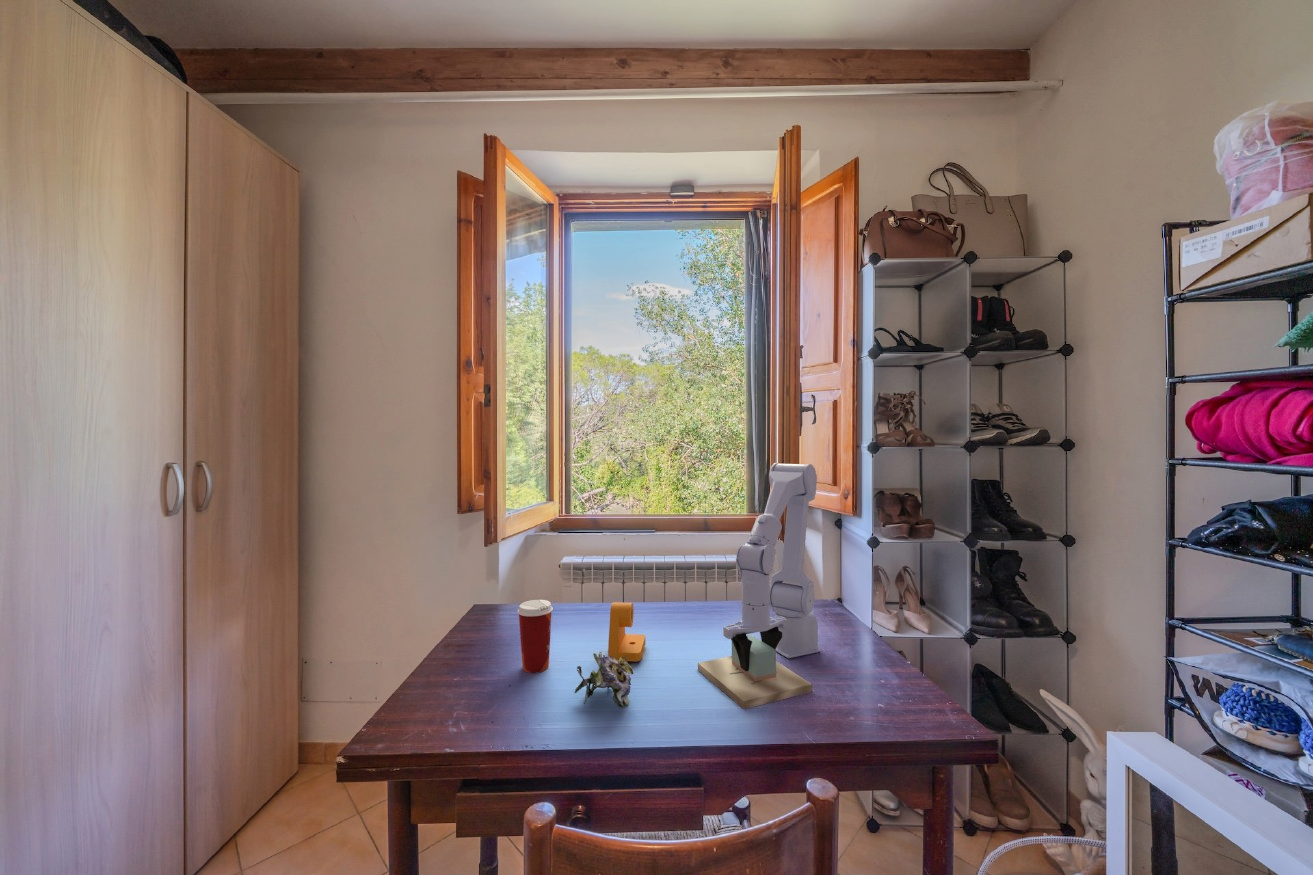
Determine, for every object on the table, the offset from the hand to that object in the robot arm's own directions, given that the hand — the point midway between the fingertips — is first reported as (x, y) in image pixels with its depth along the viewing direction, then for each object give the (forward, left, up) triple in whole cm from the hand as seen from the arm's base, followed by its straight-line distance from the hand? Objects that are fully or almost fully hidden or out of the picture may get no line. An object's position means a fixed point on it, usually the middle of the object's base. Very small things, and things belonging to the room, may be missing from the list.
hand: (756, 666), depth 110 cm
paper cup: (+41, -25, -3) cm, 48 cm away
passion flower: (+32, -4, -3) cm, 32 cm away
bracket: (+20, -23, -3) cm, 31 cm away
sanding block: (0, -1, -1) cm, 1 cm away
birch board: (+1, 0, -3) cm, 3 cm away
